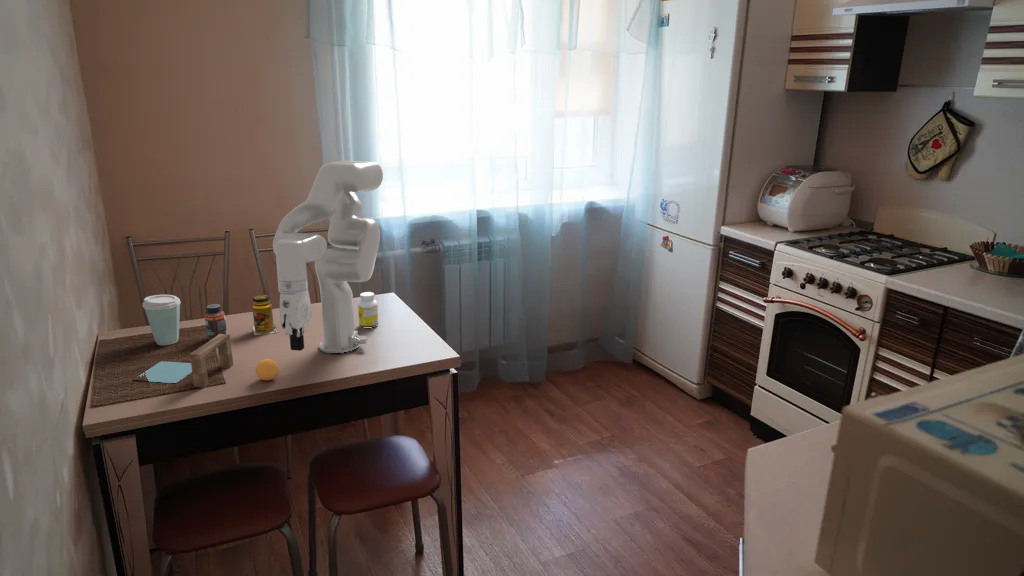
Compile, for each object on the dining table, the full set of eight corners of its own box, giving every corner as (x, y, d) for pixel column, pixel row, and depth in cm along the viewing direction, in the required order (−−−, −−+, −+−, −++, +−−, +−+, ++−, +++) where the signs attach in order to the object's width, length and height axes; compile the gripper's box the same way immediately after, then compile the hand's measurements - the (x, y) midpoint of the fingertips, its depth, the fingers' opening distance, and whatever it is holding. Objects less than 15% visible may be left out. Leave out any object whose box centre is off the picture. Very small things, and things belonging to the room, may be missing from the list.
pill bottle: (363, 322, 230) (361, 290, 227) (381, 323, 229) (379, 291, 226) (356, 328, 224) (354, 296, 221) (374, 330, 223) (373, 297, 220)
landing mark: (202, 364, 194) (202, 364, 194) (176, 383, 182) (175, 383, 182) (161, 361, 196) (161, 361, 196) (132, 380, 183) (132, 380, 183)
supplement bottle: (231, 336, 216) (227, 303, 213) (221, 342, 210) (217, 309, 207) (213, 335, 217) (209, 302, 213) (204, 341, 211) (199, 308, 208)
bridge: (233, 365, 194) (229, 334, 191) (204, 387, 180) (200, 354, 177) (223, 364, 195) (219, 333, 192) (194, 386, 180) (189, 354, 177)
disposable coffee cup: (176, 333, 218) (170, 289, 213) (192, 341, 211) (186, 296, 206) (143, 342, 210) (135, 297, 205) (158, 351, 203) (150, 305, 199)
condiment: (254, 335, 217) (250, 301, 213) (252, 327, 224) (248, 293, 220) (277, 332, 220) (274, 298, 216) (274, 324, 227) (271, 291, 223)
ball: (283, 375, 188) (281, 356, 186) (273, 384, 182) (271, 364, 181) (263, 374, 189) (261, 354, 187) (252, 383, 183) (250, 363, 181)
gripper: (294, 293, 169) (298, 360, 174) (317, 278, 183) (321, 340, 188) (266, 291, 170) (271, 358, 175) (291, 277, 184) (296, 339, 189)
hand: (297, 349), depth 182 cm, fingers closed
